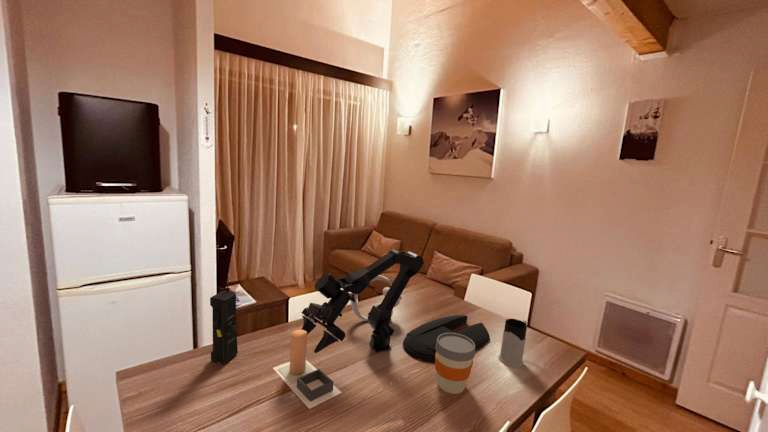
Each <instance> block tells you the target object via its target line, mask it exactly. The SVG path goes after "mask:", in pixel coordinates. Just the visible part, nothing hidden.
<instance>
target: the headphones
mask: <svg viewBox="0 0 768 432" xmlns="http://www.w3.org/2000/svg"><path fill="white" fill-rule="evenodd" d="M376 281H384V282H387V283H389V284H390V286H391V285H392V283H393V281H391V280H390V279H389V278H388V277H387V276H383V275H381V274H380V275H378V276H377V277H375V278H374V279H373V280H372V281H370V283H371V282H376ZM389 289H390V287H388V286H385V287H384V288H383V289H382V294H383V296H384V297H385V295H386V294H387V292H388V290H389ZM352 294H353V293H352ZM354 295H355V302H352V301H350V306H351V309H352V311H353V313H354V314H355V316H356V317H358V318H359V319H361V320H363V322H364V321H365V322H368V320H367V318H368V316H365V315H363V314H361V312H360V310H359V307H358V304H357V302H358V297H359V294H354ZM402 300H403V298H402V295H401V296H400V297H399V299H398V301H397V303H396V304H395V306H394V308H397V307H398V306H399V305H400V304H401V301H402ZM380 304H381V303H380ZM380 304H376V305H374V306H375V307H377V306H378V305H380ZM393 314H394V309H393V310H392V314H391V318H392V317H393Z"/></svg>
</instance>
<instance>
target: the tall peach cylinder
mask: <svg viewBox="0 0 768 432" xmlns="http://www.w3.org/2000/svg"><path fill="white" fill-rule="evenodd" d="M307 344H308V335H307V332H306V331H305V330H302V329H295V330H292V331H291V333H290V347H289V348H290V352H289V354H290V355H289V362H290V373H291V374H292V375H301V374H303V373H304V372H305V368H306V360H307V350H308V349H307Z"/></svg>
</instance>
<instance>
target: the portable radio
mask: <svg viewBox="0 0 768 432" xmlns="http://www.w3.org/2000/svg"><path fill="white" fill-rule="evenodd" d="M209 301H210V302H209V304H210V307H212V308H211V309H212V351H211V352H210V360H211V361H212V362H213V363H218V364H224V365H225V364H227V363H228V362H230V360H232V359H233V358H234V357H235V356H236V355H238V353H239V351H238V349H239V348H238V330H237V327H238V326H237V294H236V291H230V290H229V284H226V290H222V291H219V292H218V293H217V294H214V295H212V296H211V297H210V299H209Z"/></svg>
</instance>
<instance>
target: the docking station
mask: <svg viewBox="0 0 768 432" xmlns="http://www.w3.org/2000/svg"><path fill="white" fill-rule="evenodd" d="M467 322H468V315H462V314H454V315H448V316H444V317H440V318H437V319H434V320H430V321H427V322H426V323H423V324H421V325H418V326H417V327H415V328H413V329H412V330H410V331H409V332H407V333H406V336H405V338H404V339H403V340H402V347H403V350H404V351H405V352H406V353H407V354H408V355H409V356H411V357H413V358H414V359H416V360H419V361H424V362H427V363H435V354H436V348H435V346H436V341H437V338H438V336H439V335H441V334H443V333H458V334H461V335H464V336H466V337H468V338H470V339H471V340H472V341H473V342H474V344H475V352H477V351H479V350H480V349H481V348H483V347H484V346H485V345H487V344H488V343H489V341H491V338H490V333H489V331H488V329H487V327H486V326H485V324H484V323H483V322H478V323H474V324H472V325H471V324H470V325H469V326H467V327H465V328H462V329H460V330H458V331H456V332H455V331H453V330H455V329H457V328H459V327H462V326H464V325H466V324H467ZM463 324H464V325H463ZM461 325H462V326H461ZM456 327H457V328H456ZM487 342H488V343H487ZM486 343H487V344H486Z"/></svg>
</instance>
